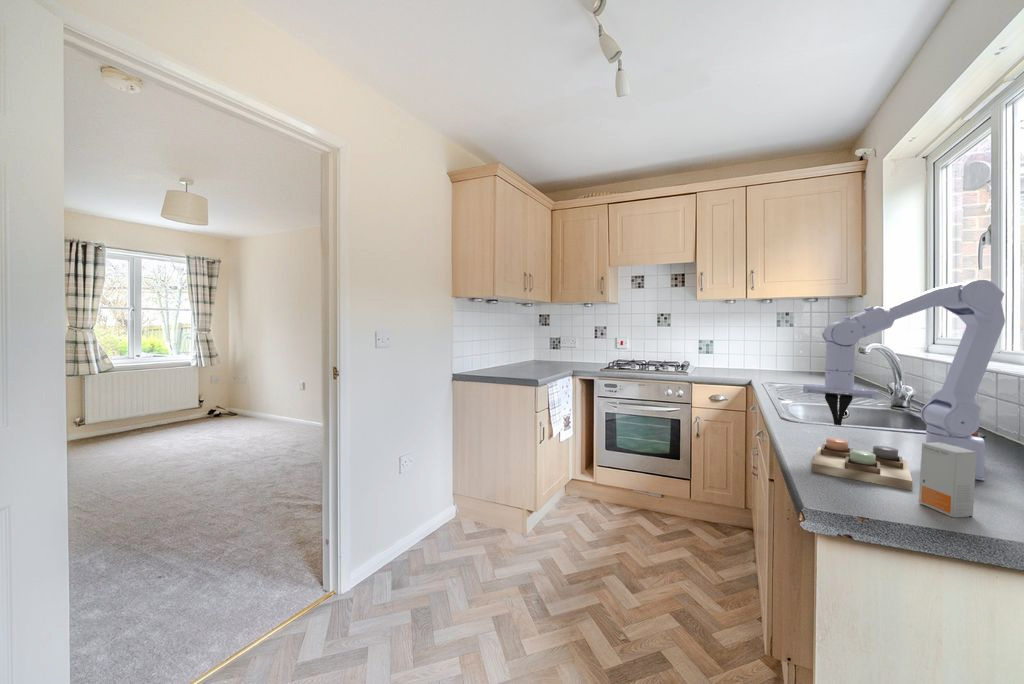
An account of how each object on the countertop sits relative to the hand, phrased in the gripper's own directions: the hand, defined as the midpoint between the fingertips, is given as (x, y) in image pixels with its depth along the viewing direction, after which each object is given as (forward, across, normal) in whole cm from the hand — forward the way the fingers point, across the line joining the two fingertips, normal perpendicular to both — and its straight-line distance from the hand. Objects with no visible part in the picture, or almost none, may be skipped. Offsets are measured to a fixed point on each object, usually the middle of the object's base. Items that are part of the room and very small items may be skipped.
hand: (837, 424), depth 105 cm
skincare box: (+10, +17, -21) cm, 29 cm away
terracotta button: (+6, 0, 0) cm, 6 cm away
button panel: (+9, +4, -4) cm, 11 cm away
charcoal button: (+6, +9, -1) cm, 11 cm away
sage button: (+6, +5, -9) cm, 12 cm away
